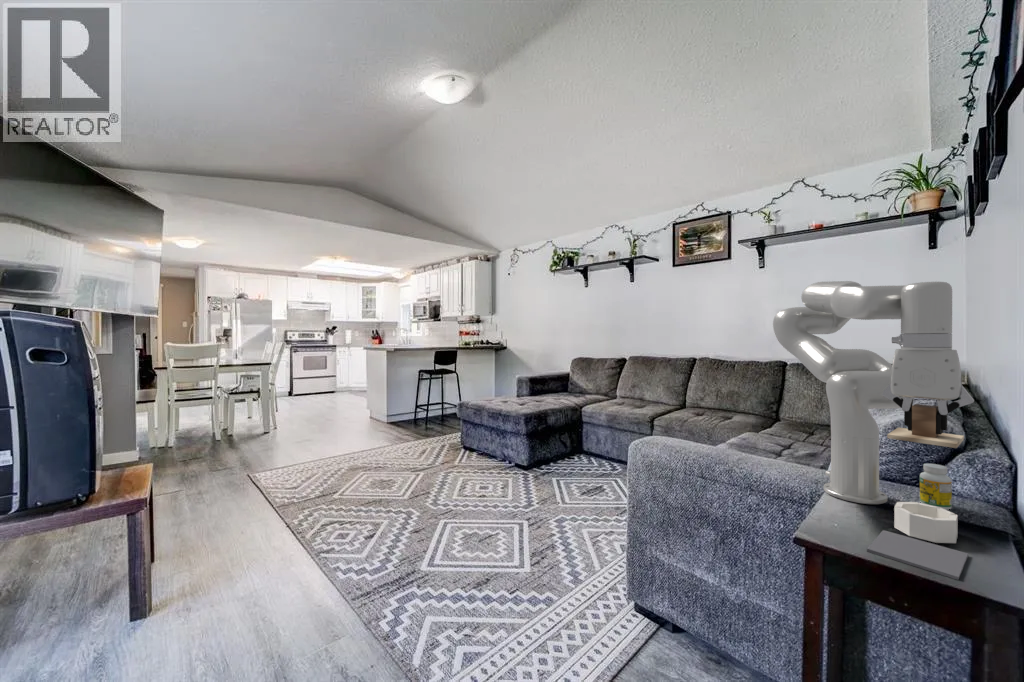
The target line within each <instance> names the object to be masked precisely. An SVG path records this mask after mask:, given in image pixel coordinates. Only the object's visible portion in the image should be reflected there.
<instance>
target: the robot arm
mask: <svg viewBox="0 0 1024 682" xmlns="http://www.w3.org/2000/svg"><path fill="white" fill-rule="evenodd" d="M952 287H953V286H952V285H951V284H950V283H949V282H946V281H924V282H923V281H921V282H913V283H908V284H905V285H868V286H867V285H866V286H865V285H864V286H863V285H862V284H860V283H858V282H856V281H852V280H844V281H833V280H832V281H817V282H814V283H811V284H809V285H808V286H807V287H805V288H804V290H803V291H802V293H801V296H800V297H801V302H802V304H803V305H804V306H794V307H789V308H788V307H787V308H785V309H782V310H779V311H778V312H777V313H776V314H775V316H774V317H773V321H772V327H773V333H774V336H775V337H776V340H777V341H778V343H779V344H780V345H781V346H782V347H783V348H784V349H785V350H786V351H787V352H789V354H791V355H793V356H794V357H795V358H796V359H797V360H798V361H799V362H800V363H801V364H802V365H803V366H804V367H805V368H806V369H807V370H808V371H809V372H810V373H811V374H812V375H813V376H814V377H815V378H816V379H817V380H819V381H821V382H822V383H826V384H825V391H826V392H825V393H826V397H827V401H828V406H829V413H830V414H829V415H830V439H831V440H830V470H826V471H825V475H826V476H827V477H829V482H825V483H824V484H823V491H824V492H825V493H826V494H828V495H830V496H832V497H834V498H837V499H841V500H844V501H848V502H852V503H858V504H866V505H882V504H885V503H887V502H888V495H887V494H886V493H885V492H884V491H881V490H880V429H879V426H878V425H879V424H878V423H877V421H876V419H875V418H874V416H872V414H871V412H870V411H869V410H874V409H875V410H879V409H881V410H886V409H887V410H888V409H889V410H891V409H902V411H904V412H903V414H904V415H903V423H904V426H905V427H906V426H907V429H908V430H909V431H912V406H913V405H914V402H915V401H914V400H915V398H916V399H917V398H918V399H924V400H926V399H927V400H936V402H937V406H938V408H939V411H938V414H937V415H936V433H937V434H940V435H941V434H942V433H944V431H948V414H950V413H952V412H953V411H954V410H956V409H958V408H961V407H964V406H968V405H970V404H973V403H974V402H975V399H974V398H973V396H971V394H970V393H969V392H968V390H967V389H966V388H965V387H964V386H963V382H962V381H963V379H962V368H961V361H960V357H959V353H958V351H957V349H953V288H952ZM851 319H853V320H860V321H862V320H863V321H864V320H865V321H868V320H869V321H872V320H900V334H899V335H898V336H892V337H891V343H892V344H897V345H899V347H900V348H896V349H894V350H895V351H894V353H893V358H892V364H891V363H890V362H889V361H888V360H886V359H885V358H883V357H882V356H881V355H880V354H878V353H876V352H874V351H871V350H870V349H864V348H862V349H861V348H852V349H851V348H838V347H837V348H836V347H834V346H832V345H830V344H829V343H828V341H826V340H825V339H823V338H821V337H820V336H817V335H830V334H835V333H836V332H838V331H840V330H841V329H842V328H843V327H844V326H845V325H846V324H847V323H848V322H849V321H850V320H851ZM958 398H960V399H958ZM956 399H958V400H956ZM953 400H954V401H953ZM949 401H951V402H950V403H949Z"/></svg>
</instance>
